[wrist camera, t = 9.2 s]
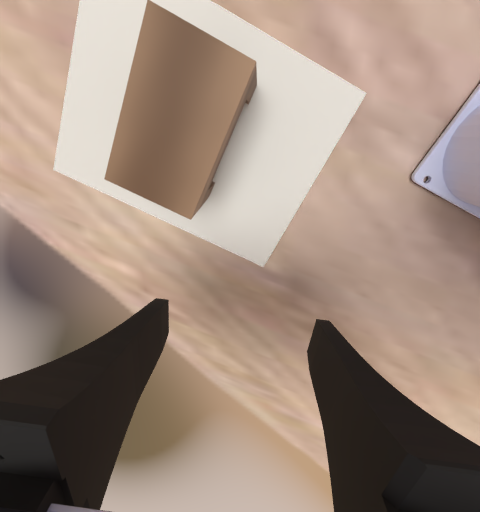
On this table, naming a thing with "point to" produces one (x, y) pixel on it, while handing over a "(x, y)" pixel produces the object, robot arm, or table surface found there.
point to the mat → (242, 139)
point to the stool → (178, 112)
